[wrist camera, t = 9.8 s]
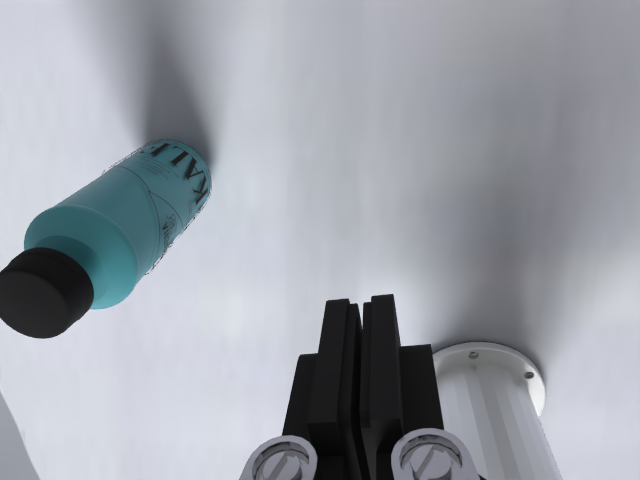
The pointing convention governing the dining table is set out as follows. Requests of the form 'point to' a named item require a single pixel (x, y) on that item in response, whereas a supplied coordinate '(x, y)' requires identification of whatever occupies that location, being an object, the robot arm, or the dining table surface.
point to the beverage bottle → (102, 239)
